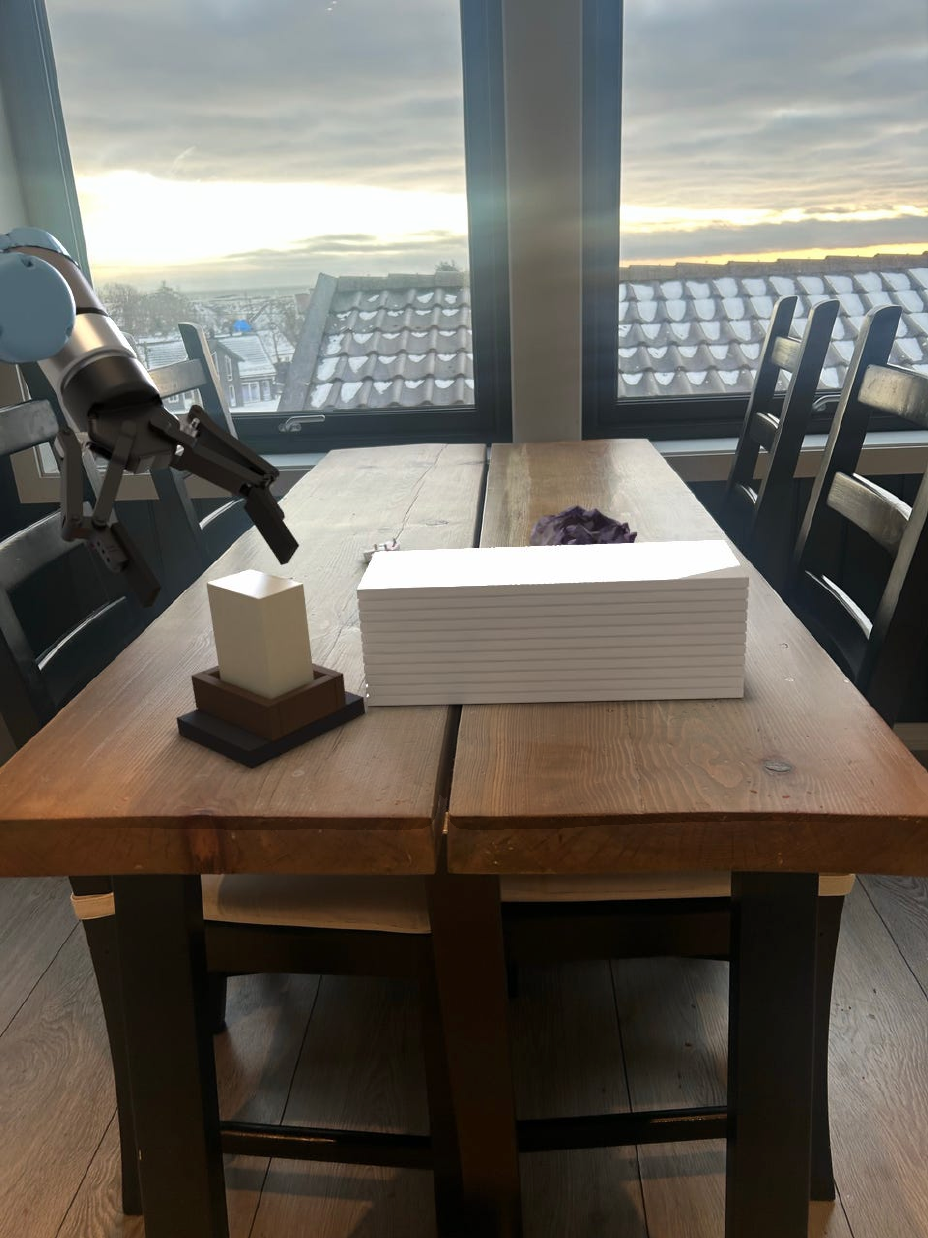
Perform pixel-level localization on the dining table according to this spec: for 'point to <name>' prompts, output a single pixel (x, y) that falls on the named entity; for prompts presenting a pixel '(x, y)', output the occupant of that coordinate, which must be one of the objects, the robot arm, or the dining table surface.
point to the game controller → (383, 549)
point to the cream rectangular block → (261, 632)
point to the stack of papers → (554, 624)
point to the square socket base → (265, 715)
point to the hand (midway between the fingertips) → (225, 575)
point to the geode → (579, 529)
